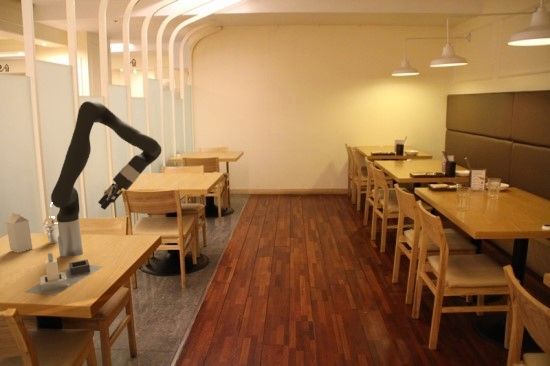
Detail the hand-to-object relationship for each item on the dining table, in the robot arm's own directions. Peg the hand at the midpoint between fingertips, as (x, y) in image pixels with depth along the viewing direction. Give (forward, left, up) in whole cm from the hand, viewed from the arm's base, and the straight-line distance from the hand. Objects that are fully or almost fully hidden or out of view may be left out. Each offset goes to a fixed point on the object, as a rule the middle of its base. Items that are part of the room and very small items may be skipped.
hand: (101, 206), depth 181 cm
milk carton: (-57, +10, -28) cm, 65 cm away
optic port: (-7, -23, -26) cm, 36 cm away
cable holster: (-7, -9, -26) cm, 29 cm away
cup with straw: (-50, +24, -28) cm, 62 cm away
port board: (-7, -17, -28) cm, 33 cm away
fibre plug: (-7, -23, -26) cm, 36 cm away
